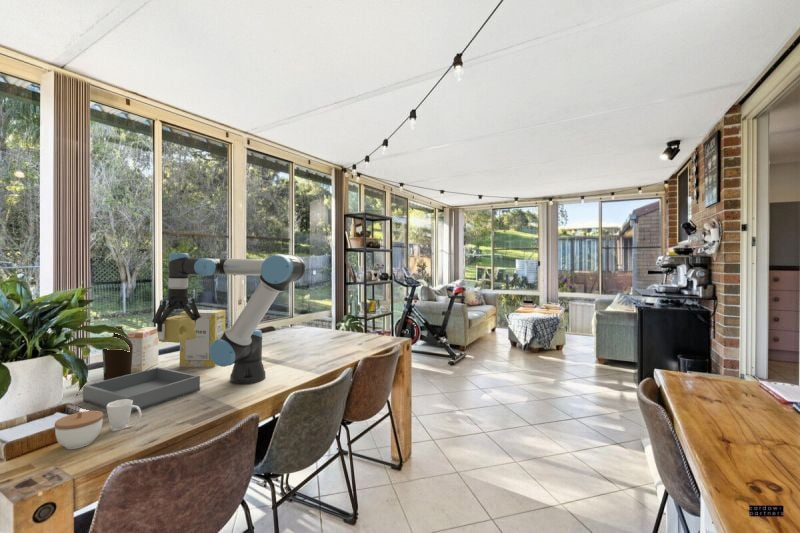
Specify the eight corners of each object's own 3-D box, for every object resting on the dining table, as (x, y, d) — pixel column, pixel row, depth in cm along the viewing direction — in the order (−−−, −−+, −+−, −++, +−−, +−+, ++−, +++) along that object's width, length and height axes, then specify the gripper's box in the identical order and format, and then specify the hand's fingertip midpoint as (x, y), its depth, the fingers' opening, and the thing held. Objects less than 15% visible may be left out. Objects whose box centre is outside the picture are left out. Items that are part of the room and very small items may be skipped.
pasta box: (179, 366, 187) (180, 312, 186) (191, 361, 197) (192, 309, 197) (214, 367, 186) (215, 312, 186) (225, 361, 197) (225, 310, 197)
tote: (199, 390, 153) (199, 375, 153) (126, 414, 128) (126, 397, 127) (157, 380, 165) (157, 367, 165) (83, 401, 139) (83, 385, 139)
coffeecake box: (144, 363, 191) (145, 326, 191) (159, 363, 191) (159, 326, 191) (126, 372, 176) (126, 332, 176) (142, 372, 177) (142, 332, 176)
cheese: (196, 338, 164) (196, 316, 164) (177, 343, 154) (178, 320, 154) (176, 337, 166) (176, 315, 166) (156, 341, 156) (157, 318, 156)
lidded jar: (45, 448, 104) (46, 416, 104) (89, 432, 114) (89, 403, 114) (68, 456, 100) (68, 422, 100) (111, 439, 110) (111, 408, 110)
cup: (115, 423, 121) (116, 398, 121) (147, 422, 122) (147, 398, 122) (100, 432, 114) (100, 407, 114) (133, 432, 115) (134, 406, 115)
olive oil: (135, 378, 168) (135, 323, 167) (129, 385, 158) (129, 327, 158) (106, 380, 163) (106, 325, 163) (98, 388, 153) (99, 329, 153)
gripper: (199, 286, 172) (198, 331, 173) (143, 288, 151) (141, 340, 151) (209, 287, 169) (208, 333, 169) (153, 289, 147) (152, 342, 147)
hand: (176, 336), depth 160 cm, fingers closed on cheese, 12 cm apart
